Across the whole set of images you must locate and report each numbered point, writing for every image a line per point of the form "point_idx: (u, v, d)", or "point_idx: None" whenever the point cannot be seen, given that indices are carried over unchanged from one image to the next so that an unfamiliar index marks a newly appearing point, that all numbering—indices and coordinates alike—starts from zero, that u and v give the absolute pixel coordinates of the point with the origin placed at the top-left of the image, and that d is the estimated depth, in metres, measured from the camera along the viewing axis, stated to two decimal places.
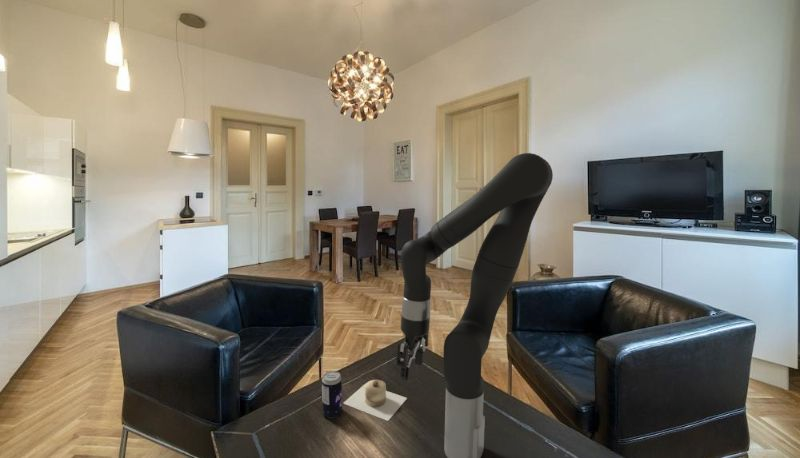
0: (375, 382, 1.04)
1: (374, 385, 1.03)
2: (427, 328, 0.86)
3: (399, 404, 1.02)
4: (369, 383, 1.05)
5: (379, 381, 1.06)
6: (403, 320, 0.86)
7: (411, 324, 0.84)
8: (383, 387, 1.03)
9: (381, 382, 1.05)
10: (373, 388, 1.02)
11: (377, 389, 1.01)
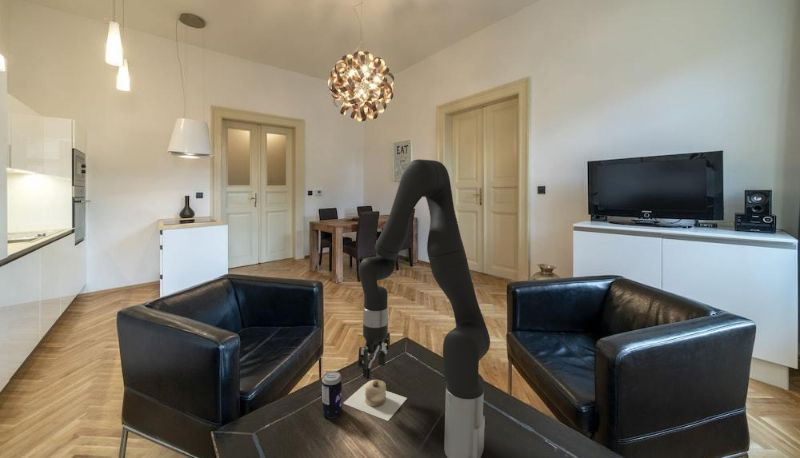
0: (375, 382, 1.04)
1: (374, 385, 1.03)
2: (385, 334, 1.00)
3: (399, 404, 1.02)
4: (369, 383, 1.05)
5: (379, 381, 1.06)
6: (364, 327, 0.99)
7: (370, 331, 0.98)
8: (383, 387, 1.03)
9: (381, 382, 1.05)
10: (373, 388, 1.02)
11: (377, 389, 1.01)
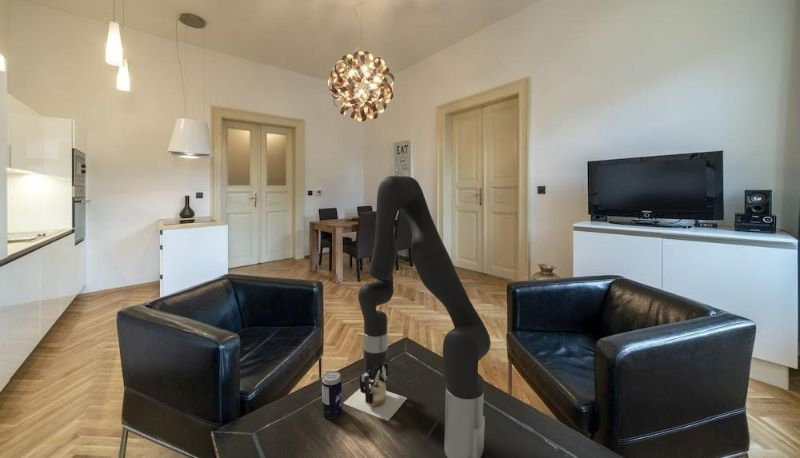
0: None
1: None
2: (385, 358, 1.00)
3: (399, 404, 1.02)
4: None
5: (379, 381, 1.06)
6: (364, 352, 1.00)
7: (371, 356, 0.99)
8: (383, 387, 1.03)
9: (381, 382, 1.05)
10: None
11: (377, 389, 1.01)
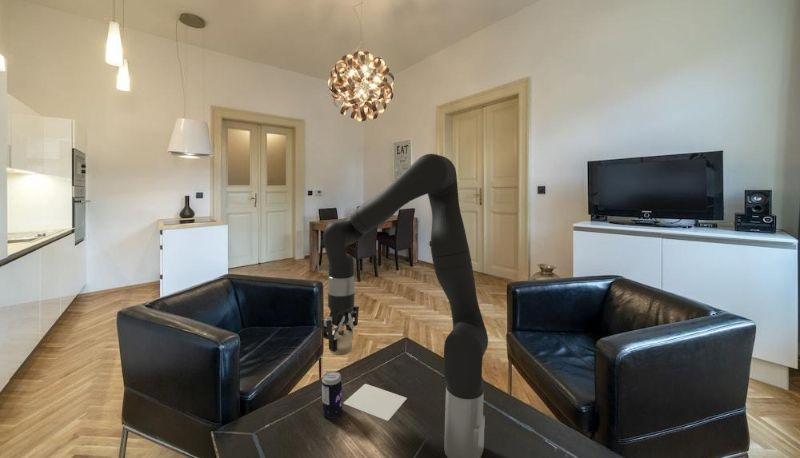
0: (341, 330, 0.97)
1: (339, 333, 0.97)
2: (350, 303, 0.94)
3: (399, 404, 1.02)
4: None
5: (346, 330, 1.00)
6: (328, 296, 0.94)
7: (334, 300, 0.92)
8: (349, 335, 0.96)
9: (348, 331, 0.99)
10: (338, 335, 0.96)
11: (342, 337, 0.95)
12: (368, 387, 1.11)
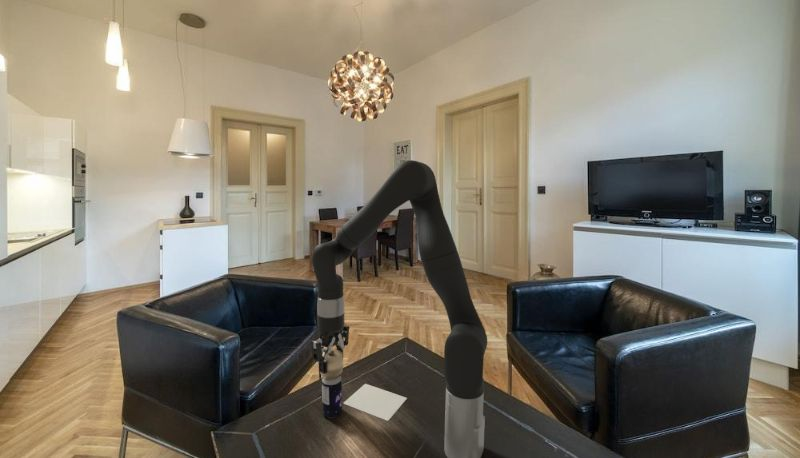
0: (331, 351, 0.96)
1: (329, 354, 0.96)
2: (340, 324, 0.93)
3: (399, 404, 1.02)
4: None
5: (336, 350, 0.98)
6: (318, 318, 0.93)
7: (324, 321, 0.91)
8: (339, 356, 0.95)
9: (338, 351, 0.98)
10: (328, 357, 0.95)
11: (332, 358, 0.94)
12: (368, 387, 1.11)
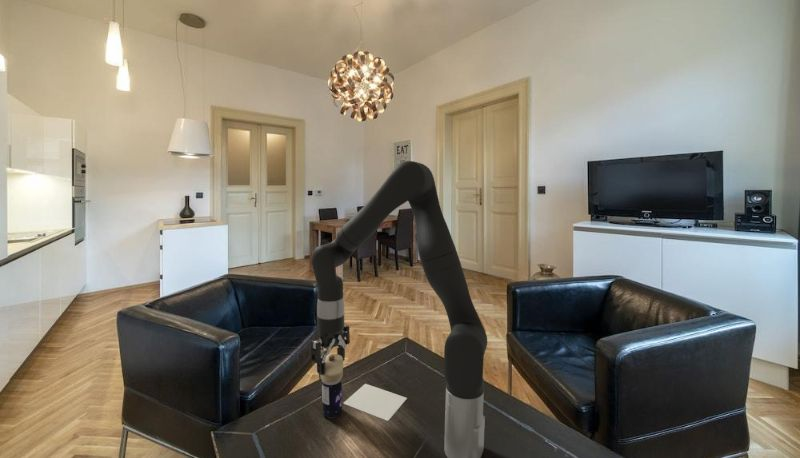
0: (331, 356, 0.96)
1: (330, 359, 0.96)
2: (340, 326, 0.93)
3: (399, 404, 1.02)
4: None
5: (336, 355, 0.99)
6: (318, 319, 0.93)
7: (324, 323, 0.91)
8: (339, 361, 0.95)
9: (338, 356, 0.98)
10: (328, 361, 0.95)
11: (332, 363, 0.94)
12: (368, 387, 1.11)
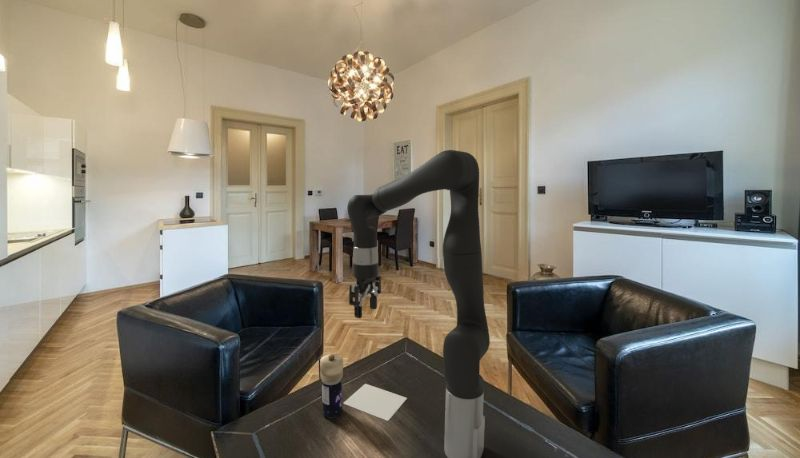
0: (331, 356, 0.96)
1: (330, 359, 0.96)
2: (375, 272, 0.99)
3: (399, 404, 1.02)
4: (325, 357, 0.98)
5: (336, 355, 0.99)
6: (354, 266, 0.99)
7: (361, 269, 0.98)
8: (339, 361, 0.96)
9: (338, 356, 0.98)
10: (328, 362, 0.95)
11: (332, 363, 0.94)
12: (368, 387, 1.11)
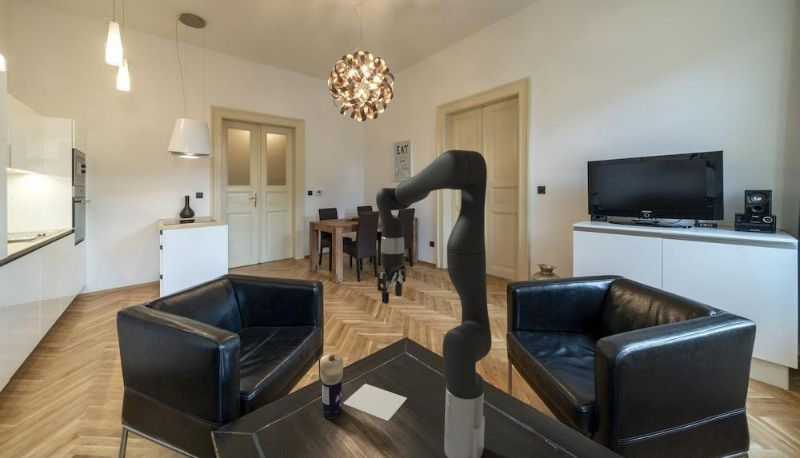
0: (331, 356, 0.96)
1: (330, 359, 0.96)
2: (402, 261, 1.06)
3: (399, 404, 1.02)
4: (325, 357, 0.98)
5: (336, 355, 0.99)
6: (382, 255, 1.06)
7: (388, 257, 1.04)
8: (339, 361, 0.96)
9: (338, 356, 0.98)
10: (328, 361, 0.95)
11: (332, 363, 0.94)
12: (368, 387, 1.11)
